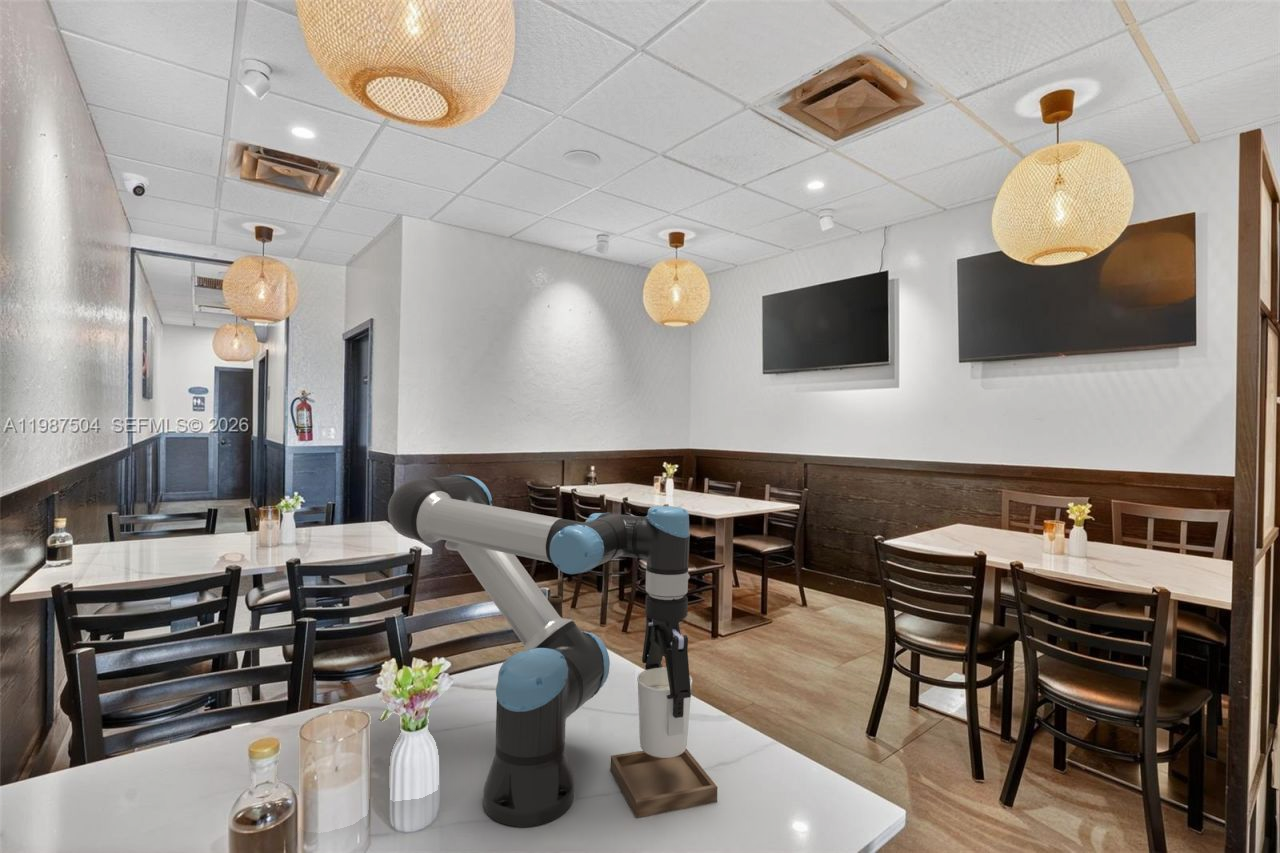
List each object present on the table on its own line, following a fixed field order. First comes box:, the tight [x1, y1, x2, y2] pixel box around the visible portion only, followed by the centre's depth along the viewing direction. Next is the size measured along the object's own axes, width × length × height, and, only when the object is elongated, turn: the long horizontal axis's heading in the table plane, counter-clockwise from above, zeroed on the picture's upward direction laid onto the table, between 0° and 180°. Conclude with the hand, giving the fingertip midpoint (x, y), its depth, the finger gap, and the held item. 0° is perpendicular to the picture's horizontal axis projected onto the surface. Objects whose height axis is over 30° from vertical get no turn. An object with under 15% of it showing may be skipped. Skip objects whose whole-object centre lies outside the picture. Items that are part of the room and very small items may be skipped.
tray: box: [609, 748, 718, 819], centre depth 107 cm, size 15×15×2 cm
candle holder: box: [636, 667, 693, 758], centre depth 107 cm, size 10×10×12 cm
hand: (663, 719), depth 107 cm, fingers closed on candle holder, 10 cm apart
